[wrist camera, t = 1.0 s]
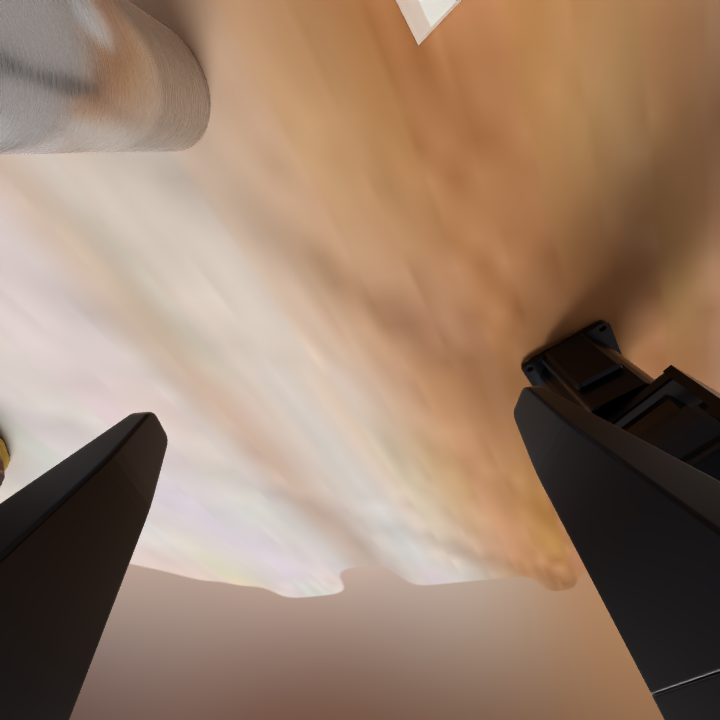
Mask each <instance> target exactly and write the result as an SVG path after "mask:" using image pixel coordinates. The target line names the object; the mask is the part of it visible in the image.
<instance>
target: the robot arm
mask: <svg viewBox="0 0 720 720" xmlns="http://www.w3.org/2000/svg"><path fill="white" fill-rule="evenodd" d="M601 327H602V328H601ZM529 367H530V368H529ZM528 368H529V369H528ZM521 369H522V371H523V373H524V374H525V376H526V377H527V379H528V380H529V382H530V383H531V385H532V386H533V387H525V388H524V389H523V390H522V391H521V394H520V396H519V399H518V401H517V404H516V406H515V409H514V418H515V421H516V424H517V426H518V429H519V431H520V434H521V436H522V439H523V441H524V444H525V446H526V449H527V451H528V454H529V457H530V459H531V462H532V464H533V466H534V469H535V471H536V473H537V475H538V477H539V479H540V481H541V483H542V485H543V487H544V489H545V491H546V493H547V495H548V497H549V499H550V501H551V502H552V504H553V506H554V508H555V510H556V512H557V514H558V516H559V518H560V520H561V522H562V524H563V525H564V527H565V529H566V531H567V533H568V535H569V537H570V539H571V541H572V543H573V545H574V547H575V548H576V550H577V552H578V554H579V556H580V558H581V560H582V562H583V564H584V566H585V568H586V570H587V571H588V573H589V575H590V577H591V579H592V581H593V583H594V585H595V587H596V589H597V590H598V593H599V594H600V596H601V598H602V600H603V602H604V604H605V606H606V608H607V610H608V612H609V613H610V615H611V617H612V619H613V621H614V623H615V625H616V627H617V629H618V631H619V633H620V635H621V636H622V638H623V640H624V642H625V644H626V646H627V648H628V650H629V652H630V654H631V656H632V658H633V660H634V661H635V663H636V665H637V667H638V669H639V671H640V673H641V675H642V677H643V679H644V681H645V683H646V684H647V686H648V688H649V690H650V692H651V693H652V696H653V698H654V700H655V702H656V704H657V706H658V708H659V710H660V712H661V714H662V716H663V718H664V720H720V393H718V392H717V391H715V390H713V389H712V388H710V387H708V386H707V385H705V384H703V383H701V382H700V381H698V380H696V379H695V378H693V377H691V376H689V375H688V374H686V373H684V372H683V371H681V370H679V369H677V368H676V367H674V366H672V365H670V366H669V367H668V368H667V369H665V370H664V371H663V372H664V373H663V374H662V375H661V376H659V377H658V378H657V379H655V380H654V379H653V378H652V377H650V376H649V375H648V374H646V373H645V372H644V371H642V370H641V369H640V368H638V367H637V366H635V365H634V364H633V363H631V362H630V361H629V360H627V359H626V358H625V357H623V356H622V354H621V352H620V349H619V347H618V344H617V342H616V339H615V336H614V334H613V331H612V329H611V326H610V324H609V323H607V322H606V321H604V320H600V321H598V322H596V323H594V324H592V325H590V326H589V327H587V328H585V329H583V330H582V331H580V332H578V333H576V334H575V335H573V336H571V337H569V338H568V339H566V340H564V341H562V342H561V343H559V344H557V345H555V346H554V347H552V348H550V349H548V350H546V351H545V352H543V353H541V354H539V355H538V356H536V357H534V358H532V359H531V360H529V361H527V362H525V363H524V364H523V365H522V367H521ZM166 448H167V435H166V433H165V431H164V429H163V427H162V426H161V424H160V422H159V420H158V418H157V416H156V415H155V414H154V413H152V412H142V413H133V414H131V415H129V416H128V417H126V418H125V419H123V420H122V421H120V422H119V423H117V424H116V425H115V426H113V427H112V428H110V429H109V430H107V431H106V432H104V433H103V434H101V435H100V436H98V437H97V438H96V439H94V440H93V441H91V442H90V443H88V444H87V445H85V446H84V447H82V448H81V449H79V450H78V451H77V452H75V453H74V454H72V455H71V456H69V457H68V458H66V459H65V460H63V461H62V462H60V463H59V464H58V465H56V466H55V467H53V468H52V469H50V470H49V471H47V472H46V473H44V474H43V475H41V476H40V477H39V478H37V479H36V480H34V481H33V482H31V483H30V484H28V485H27V486H25V487H24V488H23V489H21V490H20V491H18V492H17V493H15V494H14V495H12V496H11V497H9V498H8V499H6V500H5V501H4V502H2V503H1V504H0V720H69V719H70V716H71V714H72V711H73V708H74V706H75V703H76V701H77V698H78V695H79V693H80V690H81V688H82V685H83V682H84V680H85V677H86V674H87V672H88V669H89V667H90V664H91V662H92V659H93V656H94V654H95V651H96V648H97V646H98V643H99V641H100V638H101V635H102V633H103V630H104V628H105V625H106V622H107V620H108V617H109V614H110V612H111V609H112V607H113V604H114V602H115V599H116V596H117V594H118V591H119V588H120V586H121V583H122V581H123V578H124V575H125V573H126V570H127V567H128V565H129V562H130V560H131V557H132V555H133V552H134V549H135V547H136V544H137V542H138V539H139V536H140V534H141V531H142V528H143V526H144V523H145V521H146V518H147V515H148V512H149V510H150V507H151V503H152V500H153V497H154V493H155V489H156V485H157V482H158V478H159V474H160V470H161V466H162V463H163V459H164V455H165V451H166Z"/></svg>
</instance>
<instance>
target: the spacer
mask: <svg viewBox="0 0 720 720" xmlns="http://www.w3.org/2000/svg"><path fill="white" fill-rule="evenodd" d="M209 117H210V96H209V91H208V86H207V83H206V79H205V77H204V74H203V71H202V69H201V67H200V65H199V63H198V61H197V60H196V58H195V56H194V55H193V53H192V52H191V50H190V49H189V48H188V46H187V45H186V44H185V43H184V42H183V41H182V39H181V38H180V37H179V36H177V35H176V34H175V33H174V32H173V31H172V30H170V29H169V28H168V27H166V26H165V25H163V24H162V23H160V22H159V21H158V20H156V19H155V18H153V17H152V16H150V15H149V14H147V13H146V12H144V11H143V10H142V9H140V8H139V7H137V6H136V5H134V4H133V3H131V2H130V1H128V0H0V154H43V153H102V152H161V151H181V150H185V149H188V148H190V147H192V146H193V145H194V144H196V143H197V142H198V141H199V140H200V139H201V137H202V136H203V134H204V133H205V130H206V128H207V125H208V122H209Z"/></svg>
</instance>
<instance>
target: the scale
mask: <svg viewBox="0 0 720 720" xmlns="http://www.w3.org/2000/svg"><path fill="white" fill-rule="evenodd" d="M461 1H462V0H396V2H397V4H398V6H399V8H400V10H401V12H402V14H403V16H404V18H405V20H406V22H407V24H408V26H409V28H410V30H411V32H412V34H413V36H414V38H415V40H416V42H417V44H418V45H419V44H420V43H421V42H422V41H423V40H424V39H425V38H426V37H427V36H428V35H429V34H430V33H431V32H432V31H433V30H434V29H435V28H436V27H437V26H438V25H439V24H440V22H441V21H442V20H443V19H444V18H445V17H446V16H447V15H448V14H449V13H450V12H451V11H452V10H453V9H454V8H455V7H456V6H457V5H458V4H459V3H460V2H461Z"/></svg>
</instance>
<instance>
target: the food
mask: <svg viewBox="0 0 720 720" xmlns="http://www.w3.org/2000/svg"><path fill="white" fill-rule="evenodd" d="M9 462H10V458H9V455H8V452H7V449H6V446H5V444H4V441H3V440H2V439H1V438H0V486H1V485H2V482H3V480H4V477H5V476H4V471H5V470H6V468H7V466H8V464H9Z"/></svg>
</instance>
